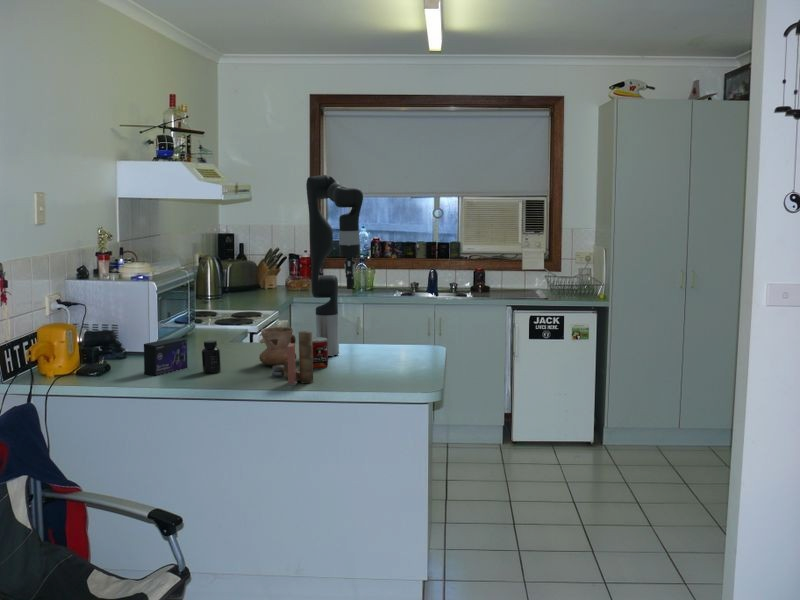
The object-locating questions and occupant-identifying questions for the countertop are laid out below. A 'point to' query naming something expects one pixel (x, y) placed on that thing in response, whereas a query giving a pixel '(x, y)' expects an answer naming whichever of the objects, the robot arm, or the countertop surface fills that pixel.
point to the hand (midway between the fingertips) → (350, 287)
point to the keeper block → (291, 365)
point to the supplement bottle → (211, 358)
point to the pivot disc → (277, 373)
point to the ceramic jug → (276, 345)
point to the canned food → (320, 352)
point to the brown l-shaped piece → (302, 359)
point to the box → (165, 356)
